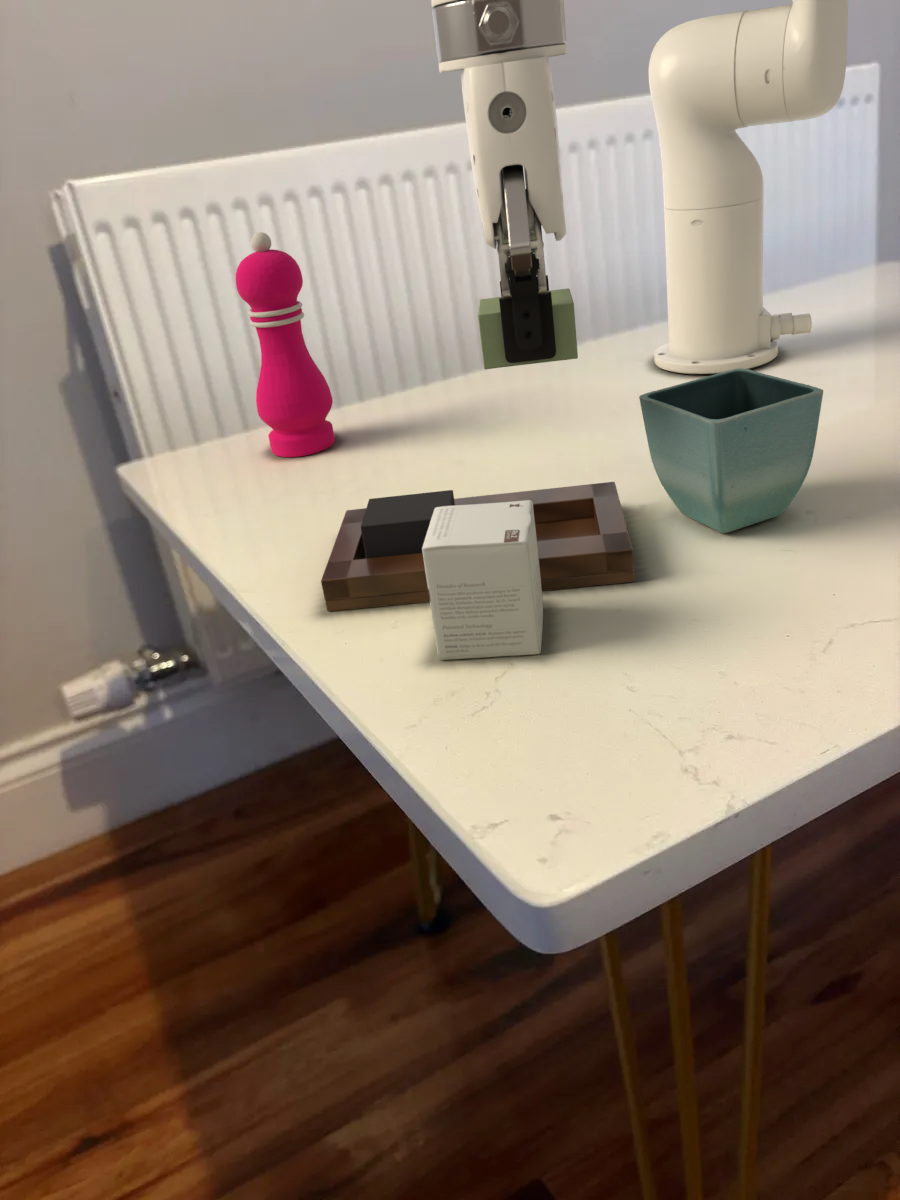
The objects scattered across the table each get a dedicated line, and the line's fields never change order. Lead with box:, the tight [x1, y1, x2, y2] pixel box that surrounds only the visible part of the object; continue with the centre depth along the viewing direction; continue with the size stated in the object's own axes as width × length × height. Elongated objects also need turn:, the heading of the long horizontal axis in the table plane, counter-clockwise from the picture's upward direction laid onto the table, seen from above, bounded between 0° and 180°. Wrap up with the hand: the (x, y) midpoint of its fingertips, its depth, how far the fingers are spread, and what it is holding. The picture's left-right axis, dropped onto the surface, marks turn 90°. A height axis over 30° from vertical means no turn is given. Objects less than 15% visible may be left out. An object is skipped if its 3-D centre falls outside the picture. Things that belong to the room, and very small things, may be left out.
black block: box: [361, 489, 455, 559], centre depth 71 cm, size 6×5×4 cm
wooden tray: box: [320, 481, 636, 612], centre depth 71 cm, size 20×12×2 cm, turn 87°
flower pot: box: [638, 368, 824, 534], centre depth 70 cm, size 9×9×9 cm
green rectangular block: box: [477, 287, 579, 370], centre depth 67 cm, size 6×5×4 cm
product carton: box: [422, 500, 544, 661], centre depth 60 cm, size 6×6×7 cm
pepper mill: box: [235, 231, 336, 458], centre depth 95 cm, size 7×7×20 cm
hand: (530, 345), depth 67 cm, fingers closed on green rectangular block, 5 cm apart
